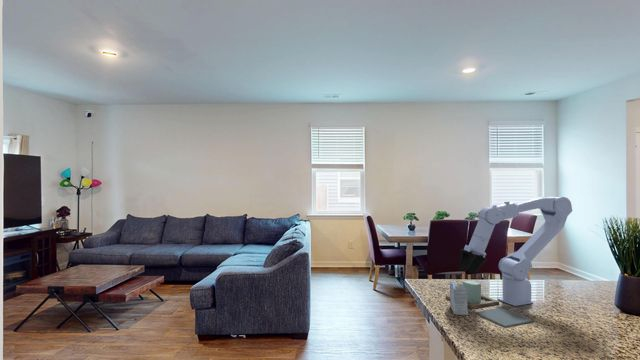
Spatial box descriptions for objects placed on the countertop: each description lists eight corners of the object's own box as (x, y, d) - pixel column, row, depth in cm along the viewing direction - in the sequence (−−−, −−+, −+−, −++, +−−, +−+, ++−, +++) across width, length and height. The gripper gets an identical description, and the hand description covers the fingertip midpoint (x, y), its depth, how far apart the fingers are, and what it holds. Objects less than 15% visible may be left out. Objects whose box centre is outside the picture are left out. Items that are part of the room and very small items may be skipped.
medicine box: (467, 315, 116) (467, 289, 116) (453, 314, 116) (453, 289, 116) (462, 307, 123) (462, 283, 123) (449, 306, 124) (449, 282, 124)
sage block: (470, 298, 132) (470, 280, 132) (481, 302, 128) (480, 283, 128) (462, 299, 131) (462, 281, 131) (472, 304, 126) (472, 285, 126)
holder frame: (474, 294, 137) (474, 291, 137) (499, 304, 126) (499, 301, 126) (445, 298, 133) (445, 295, 133) (468, 309, 121) (468, 306, 121)
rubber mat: (502, 308, 121) (502, 307, 121) (533, 321, 110) (533, 320, 110) (475, 313, 117) (475, 312, 117) (505, 327, 106) (504, 325, 106)
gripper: (478, 237, 136) (465, 269, 136) (462, 230, 127) (448, 264, 126) (496, 244, 131) (482, 277, 130) (480, 237, 121) (466, 273, 121)
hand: (467, 272), depth 128 cm, fingers open, 7 cm apart
